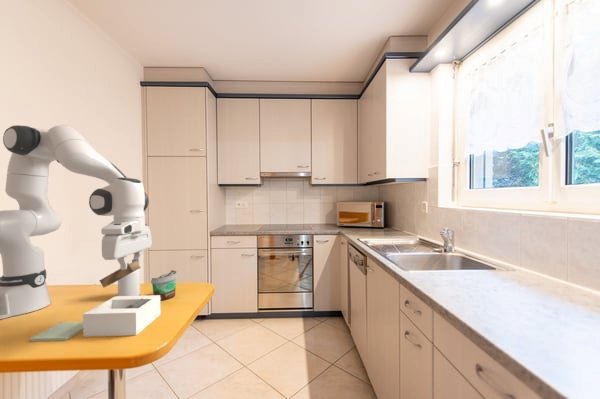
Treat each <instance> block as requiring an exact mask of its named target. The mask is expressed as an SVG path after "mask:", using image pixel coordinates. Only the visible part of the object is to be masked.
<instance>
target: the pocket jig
mask: <svg viewBox="0 0 600 399" xmlns="http://www.w3.org/2000/svg"><path fill="white" fill-rule="evenodd" d="M142 298H143V300H145V302H144V303H143V304H141V305H140V306H138V307H137V308H128V309H124V308H126V307H128V306H130V305H131V304H132V305H133V304H134V303H135V302H137V301H138V300H140V299H142ZM133 306H134V305H133ZM161 312H162V311H161V301H160V295H153V294H152V295H151V294H150V295H139V296H118V295H117V296H116V295H115V296H113V297H111V298H110V299H108V300H105V301H104V302H102V303H100V304H99V305H97V306H95V307H93V308H91V309H90V310H87V311H85V312H84V313H83V314H82V322H83V331H82V332H83V333H82V334H83V337H116V336H117V337H119V336H137V335H138V334H140V332H142V331H143V330H144V329H145V328H147V327H148V326H149V325H150V324H151V323H152V322H153V321H154V320H156V319H158V318H159V316H161Z"/></svg>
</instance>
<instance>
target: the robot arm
mask: <svg viewBox="0 0 600 399" xmlns="http://www.w3.org/2000/svg"><path fill="white" fill-rule="evenodd" d="M2 142H3V143H2V144H3V146H4V148H6V150H7V151H9V152H10V153H11V156H10V158H9V162H8V165H7V171H6V172H7V173H6V179H5V181H6V182H5V190H4V191H5V193H6V195H7V196H8V197H10V198H11V199H13V200H16V202H17V204H18V207H19V209H10V210H9V209H8V210H7V209H6V210H5V209H4V210H0V257H1V263H2V264H1V265H2V275H1V276H0V320H2V319H6V318H9V317H10V318H11V317H15V316H19V315H25V314H27V313H32V312H35V311H39V310H40V309H41V310H42V309H43V308H45V307H48V306H49V305H50V304H51V303H52V301H51V296H50V295H49V289H48V284H47V282H46V279H47V270H46V269H45V252H44V250H43V249H42V248H40V247H38V246H34V245H33V243H32V242H31V240H30V237H35V236H37V237H38V236H43V235H48V234H50V233H53V232H56V231H57V230H59V229H60V227H61V226H62V221H63V219H62V216H61V215H60V213H58V212H57V210H55V209H53V207H52V205H51V203H50V201H49V198H48V197H49V196H48V185H49V182H48V181H49V173H50V172H49V171H50V170H49V169H50V165H51V163H52V162H54V161H56V162H57V163H59V164H60V165H61V166H62V167H63V168H65V169H66V170H67V171H69V172H72V173H74V174H78V175H83V176H88V177H92V178H96V179H99V180H101V181H104V182H106V183H108V185H107V186H104V187H102V188H97V189H94V191H93V192H92V193H91V194H90V196H89V199H88V203H89V204H88V205H89V208H90V210H91V211H92V212H93V213H94V214H95V215H97V216H100V217H101V216H102V217H109V216H110V217H111V216H113V221H111V222H109V223H108V224H106V225H105V226H103V227H102V228H101V230H100V231H101V234H102V235H103V236H102V238H101V257H102V258H103V259H104V260H106V261H107V260H108V261H115V260H116V261H117V262H118V263H119V266H120V267H119V269H121V270H126V269H128V268H129V263H127V259H128V256H131V255H132V254H133V258H132V259H131V261H132V262H135V261H137V262H138V264H139V265H140V258H141V257H142V253H143V251H145V250H147V249H151V247H152V245H153V239H152V238H153V237H152V231H151V229H150V226H149V225H148V224H147V223H146V214H145V211H146V210H147V208H148V206H149V202H150V199H149V196H148V194H147V193H146V191H145V188H144V187H145V186H144V184H143V182H142V180H139V179H138V178H137V179H136V178H131V177H127V176H126V175H125V174H124V173H123V172H122V171H121V170H120V168H118V167H117V166H116V165H114V164H113V163H112V162H110V161H109V160H108V159H107V158H105V157H104V156H103V155H101V154H100V153H99V152H98V151H97V150H95V149H94V147H93V146H92V145H91V144H90V143H89V141H88V140H87V139H86V138H85V137H84V136H83V135H82V134H81V133H80V132H79V131H77V130H76V129H75V128H73V127H71V126H68V125H63V124H59V125H54V126H53V127H51V128H49V129H47V130H46V129H43V128H36V127H35V128H34V127H31V126H28V125H11V126H9V127H8V128H7V129H5V131H4V133H3V136H2Z"/></svg>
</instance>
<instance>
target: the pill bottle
mask: <svg viewBox="0 0 600 399" xmlns="http://www.w3.org/2000/svg"><path fill="white" fill-rule="evenodd" d="M126 262H127V263H129V264H130V263H132V260H128V261H127V260H126ZM140 272H141V270H140V268H139V269H138V270H136V271H134V272H132V273H131V274H129V275H127V276H125V277H123V278H122V279H120V280H118V281H117V296H141V295H140V294H141V278H140V277H141V276H140V275H141V273H140Z"/></svg>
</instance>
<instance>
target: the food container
mask: <svg viewBox="0 0 600 399" xmlns="http://www.w3.org/2000/svg"><path fill="white" fill-rule="evenodd" d="M178 277H179V276H178V272H177V271H176V270H170V272H169V273H165V274H162V275H160V276H159V277H152V278H151V280H150V284H152V293H153V294H152V295H160V302H164V301H168V300H172V299H173V298H175V297H176V288H177V285H176V284H177V278H178Z"/></svg>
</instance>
